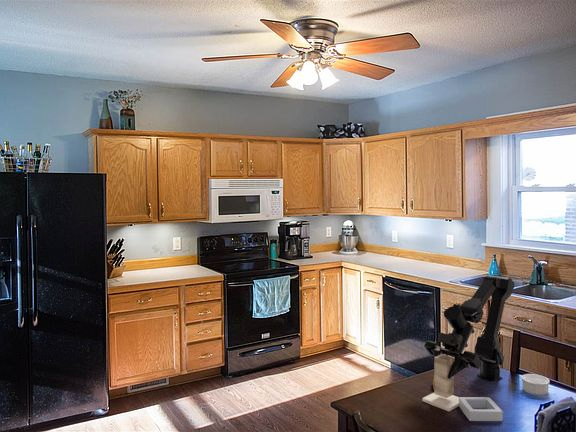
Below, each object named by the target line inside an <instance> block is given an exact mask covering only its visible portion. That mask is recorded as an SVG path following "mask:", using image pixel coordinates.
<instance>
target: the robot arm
mask: <svg viewBox="0 0 576 432" xmlns="http://www.w3.org/2000/svg"><path fill="white" fill-rule="evenodd" d="M514 289H515V282H514V280H512V278H511V277H506V276H498V275H493V276H492V275H485V276H484V277H483V279H482V282H481V284H480V285H479V286H478V288H477V290H476V291H475V292H474V294H472V296H471V298H469V299H467V300H465V301H463V302H462V304H457V303H453V305H452V306H449V307H447V308H446V309H445V310H444V311H443V317H444V318H445V319H446V321H447V323H448V324H449V326H450V328H452V331H451V332H448V333H444V332H439V334H438V338H437V342H436V341H433V340H427V341H425V342H424V345H423V348H424V349H425V350H426V351H427V352H428V354H429V355H431V356H434V357H436V356H439V355H441V354H443V355H446V356H450V357H453V358H454V363H453V365H452V367H451V369H450V371H449V374H448V378H449V379H450V378H451V377H453V376H454V377H455V375H457V374H458V373H460V372H461V371H463V370H464V369H466V368H467V369H469V367H471V368H473V369H474V368H475V369H477V370H479V369H480V372H479V373H477V374H476V375H477V376H478V377H479V378H482V379H483V380H486V381H488V382H493V381H498V380H502V379H503V377H502V376H501V374H500V373H501V368H500V366H503V364H504V362H505V356H504V354H503V352H502V351H501V344H500V341H499V339H498V337H499V331H500V327H501V323H502V317H503V312H504V309H505V303H506V301H507V300H508V299H509V298H510V297H511V296H512V293H513V290H514ZM489 299H491V300H490V304H489V309H488V312H487V313H488V314H487V318H486V323H485V327H484V332H483V334H481V336H479V335H478V336H477V337H476V343H475V346H474V352H473V351H468V350H465V348H468V346H469V343H468V341H469V338H470V337H471V334H475V328H474V325H473V324H471V323H474V324H479V323H480V322H481V320H482V319H483V315H484V307H485V306H486V304H487V302H488V301H489ZM438 343H441V345H442V347H441V346H440V345H439V344H438ZM464 350H465V351H464Z"/></svg>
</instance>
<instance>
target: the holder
mask: <svg viewBox="0 0 576 432" xmlns="http://www.w3.org/2000/svg"><path fill="white" fill-rule="evenodd" d="M458 397H459V406H458V407H459V409H460V410H461V411H462V412H463V414H464V415H465V416H466V418H467V419H468V420H469V421H470V422H503V421H504V420H503V418H504V411H503V410H502V409H501V408H500V407H499V406H498V405H497V404H496V402H495V401H494V400H492V398H490V397H488V396H483V397H482V396H479V397H478V396H475V397H474V396H470V397H469V396H467V397H466V396H462V397H461V396H458Z"/></svg>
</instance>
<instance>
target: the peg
mask: <svg viewBox="0 0 576 432" xmlns="http://www.w3.org/2000/svg"><path fill="white" fill-rule="evenodd" d="M433 360H434V363H433V364H434V367H433V369H434V371H433V373H434V374H433V377H434V378H433V379H434V389H433V391H434V392H433V393H434V394H436V395H439V396H442V397H444V398H448V397H450V396H451V395H454V393H455V391H454V390H455V375H454V376H453V377H451V378H450V379H449V378H448V374H449V371H450V369H451V367H452V365H453V363H454V357H452V356H448V355H445V354H444V355H443V354H441V355H439V356H436V357H435V356H434V359H433Z"/></svg>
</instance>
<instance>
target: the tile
mask: <svg viewBox="0 0 576 432" xmlns="http://www.w3.org/2000/svg"><path fill="white" fill-rule="evenodd" d="M459 397H460V396H456V395H454V394H453V395H451V396H450V397H448V398H444V397H442V396H439V395H436V394H434V392H432V393H430V394H428V395H426V396H424V397H422V400H421V402H424V403H426V404H429V405H432V406H433V407H436V408H438V409H442V410H443V411H447V412H451V411H452V410H453V411H454V409H456V408H458V407H459Z"/></svg>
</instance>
